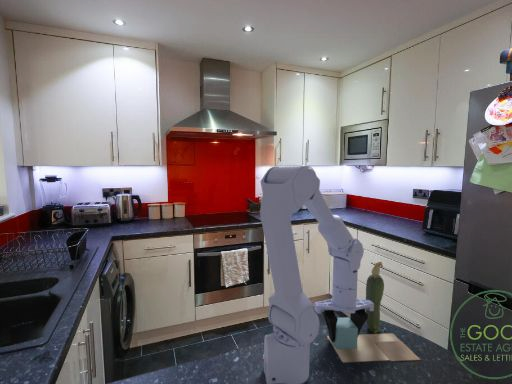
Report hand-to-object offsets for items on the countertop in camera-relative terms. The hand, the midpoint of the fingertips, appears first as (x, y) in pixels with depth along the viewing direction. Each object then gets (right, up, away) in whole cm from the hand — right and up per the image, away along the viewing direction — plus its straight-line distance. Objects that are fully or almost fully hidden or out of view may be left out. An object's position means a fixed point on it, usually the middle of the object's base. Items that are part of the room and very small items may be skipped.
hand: (342, 339), depth 67 cm
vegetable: (+10, -2, +7) cm, 13 cm away
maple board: (+6, -2, -1) cm, 7 cm away
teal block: (0, -1, 0) cm, 1 cm away
